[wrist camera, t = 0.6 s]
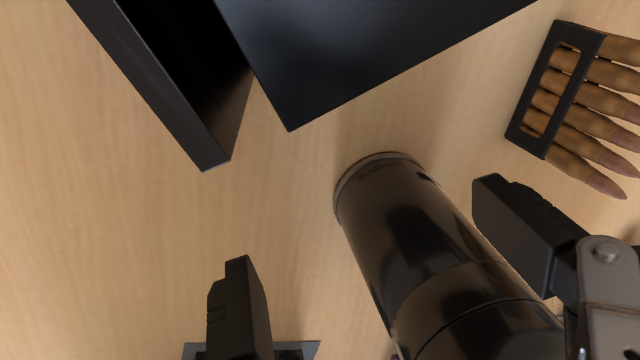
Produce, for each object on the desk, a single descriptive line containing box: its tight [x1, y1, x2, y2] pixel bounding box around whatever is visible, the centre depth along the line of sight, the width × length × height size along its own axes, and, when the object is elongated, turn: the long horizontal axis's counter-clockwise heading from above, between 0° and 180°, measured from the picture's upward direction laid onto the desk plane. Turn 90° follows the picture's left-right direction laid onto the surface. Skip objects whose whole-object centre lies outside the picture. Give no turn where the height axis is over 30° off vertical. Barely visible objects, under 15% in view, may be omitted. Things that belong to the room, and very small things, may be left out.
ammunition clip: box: [504, 19, 640, 200], centre depth 30 cm, size 11×2×12 cm, turn 170°
